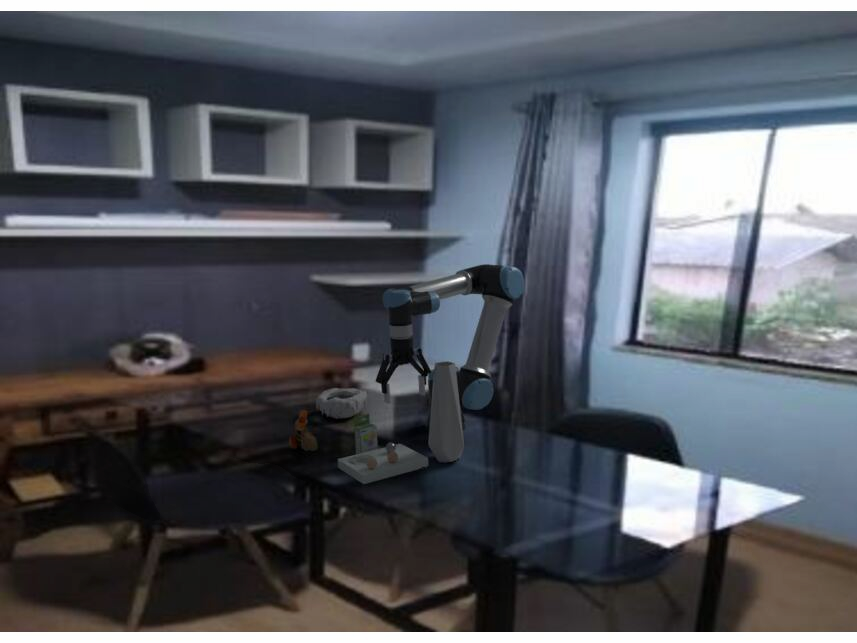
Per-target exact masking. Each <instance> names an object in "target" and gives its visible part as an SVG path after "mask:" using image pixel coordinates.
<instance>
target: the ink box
mask: <svg viewBox="0 0 857 643" xmlns="http://www.w3.org/2000/svg"><path fill="white" fill-rule="evenodd" d="M361 419H364V420H361ZM359 420H361V421H359ZM353 426H354V427H353V429H354V430H353V431H354V446H355V447H354V448H355V455H356V454H360V453H364V452H368V451H372V450H376V449H379V443H378V432H377V425H376V424H374V423H371V422H370V413H365V414H362V415H360V416H356V417H353Z"/></svg>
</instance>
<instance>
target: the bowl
mask: <svg viewBox="0 0 857 643" xmlns="http://www.w3.org/2000/svg"><path fill="white" fill-rule="evenodd" d="M315 399H316V400H315V402H316V403H315V404H316V405H315V406H316V407H315V409H316V410H317V412H318V410H319V411H320V412H321V416H324V414H326V417H327V418H329V417H330V418H332V419H336V420H337V419H347V418H348V419H349V418H351V417H353V416H355V415H357V414H358V413H360V412H361V411H362V410H364V409H365V408H366V407H367V403H368V396H367V391H365V390H361V389H357V388H355V387H354V388H353V387H352V388H350V387H349V388H337V387H333V388H329V389H327V390H324V391H323V392H321V394H320V395H318V396H317V397H316V398H315Z"/></svg>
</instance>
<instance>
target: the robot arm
mask: <svg viewBox="0 0 857 643" xmlns="http://www.w3.org/2000/svg"><path fill="white" fill-rule="evenodd" d="M523 275H524V274H523V273H522V271H521V270H520V269H519V268H517V267H515V266H513V265H512V266H510V265H507V264H506V265H505V264H504V265H501V264H500V265H499V264H490V263H486V264H485V263H483V264H479V265H475V266H470V267H468V268H465V269H460V270H457V271H456V273H455V274H453V275H452V274H451V275H449V276H444V277H441V278H437V279H434V280H429V281H426V282H425V281H424V282H422V283H418V284H417V283H416V284H413V285H409V286H407V287H406V286H405V287H402V288H388V289H387V290H385V291H384V293H383V295H382V299H381V300H382V305H383V306H384V308H386V309H387V310H388V321H389V323H388V324H389V336H390V338H389V340H390V341H389V342H390V351H391V352H390V353H383V354H382V361H381V364H380V367H379V370H378V372H377V375H376V378H375V383H378V384H380V385H381V393H382V394H383V399H384V403H386V404H391V391H390V390H391V389H390V383H388V382H389V381H390V380H391V378H392V376H393V374H394V373H395V371H396V369H397V368H398V367H399V366H404V365H409V364H410V365H411V366H412V367H413V368H414V369H415V371H417V372H418V374H419V375H418V376H417V378H418V394H419V395H421V396H426V387H425V386H428V388H427V389H428V403H429V408H428V412H427V415H426V416H427V417H426V420H425V429H426V430H427V432H429V427H430V415H431V402H432V390H433V378H434V368H433V369H431V368H430V366H429V364H428V363H427V361H426V358H425V357H424V355H423V350H422V348H420V347H417V346H416V347H415V348H414V337H413V335H414V333H413V318H414V317H420V316H424V315H430V314H433V313H436V312H438V311H439V309H440V306H441V300H444V299H447V298H452V297H455V296H458V295H462V296H468V295H469V296H470V295H480V296H481V298H482V299H483V302H484V303H483V306H482V310H481V312H480V316H479V319H478V322H477V326H476V330H475V332H474V336H473V338H472V342H471V346H470V350H469V352H468V356H467V359H466V362H465V364H464V365H461V366H460V367H459V366H455V367H456V376H457V385H458V394H459V403H460V412H461V421H462V430H463V431H464V430H465V429H466V427H467V426H466V419H465V416H464V414H463V411H462V409H461V407H462V408H465V409H468V410H475V411H476V410H482V409H484V407H487V406H488V405H489V404H490V402H491V401H492V398H493V395H494V385H493V383H492V382H491V378H492V375H491V373H490V371H489V369H490V368H491V363H492V360H493V357H494V353H495V351H496V347H497V343H498V340H499V337H500V333H501V330H502V325H503V323H504V320H505V317H506V312H507V309H509V308H511V307H512V306H513V304H514V301H515V300H517V299H519V298H520V297H521V296H522V295H523V293H524V290H525V278H524V276H523ZM414 355H415V356H416V358H417V361H418V362H419V363H417V361H416V360H415V359H414ZM419 364H420V365H419Z"/></svg>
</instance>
